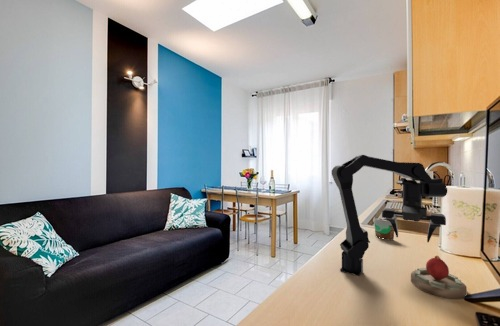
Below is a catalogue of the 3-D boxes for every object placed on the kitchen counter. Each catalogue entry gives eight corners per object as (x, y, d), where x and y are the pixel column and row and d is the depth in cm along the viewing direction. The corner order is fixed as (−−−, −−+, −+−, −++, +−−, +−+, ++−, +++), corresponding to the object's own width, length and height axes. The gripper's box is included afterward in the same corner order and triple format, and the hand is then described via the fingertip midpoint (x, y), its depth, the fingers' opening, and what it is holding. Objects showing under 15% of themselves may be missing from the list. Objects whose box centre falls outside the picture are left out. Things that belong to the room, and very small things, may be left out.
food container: (367, 234, 130) (367, 216, 130) (376, 233, 131) (376, 216, 131) (386, 242, 118) (386, 222, 118) (396, 240, 120) (396, 221, 120)
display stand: (409, 288, 74) (409, 278, 74) (411, 272, 85) (411, 263, 85) (469, 304, 66) (469, 293, 66) (463, 284, 77) (463, 274, 77)
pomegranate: (426, 274, 79) (426, 250, 79) (448, 279, 76) (448, 255, 76) (425, 280, 75) (425, 255, 75) (449, 286, 71) (449, 260, 71)
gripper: (379, 197, 84) (379, 240, 84) (446, 202, 73) (446, 252, 73) (384, 194, 93) (384, 232, 93) (444, 198, 82) (444, 242, 82)
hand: (412, 239), depth 85 cm, fingers open, 9 cm apart
